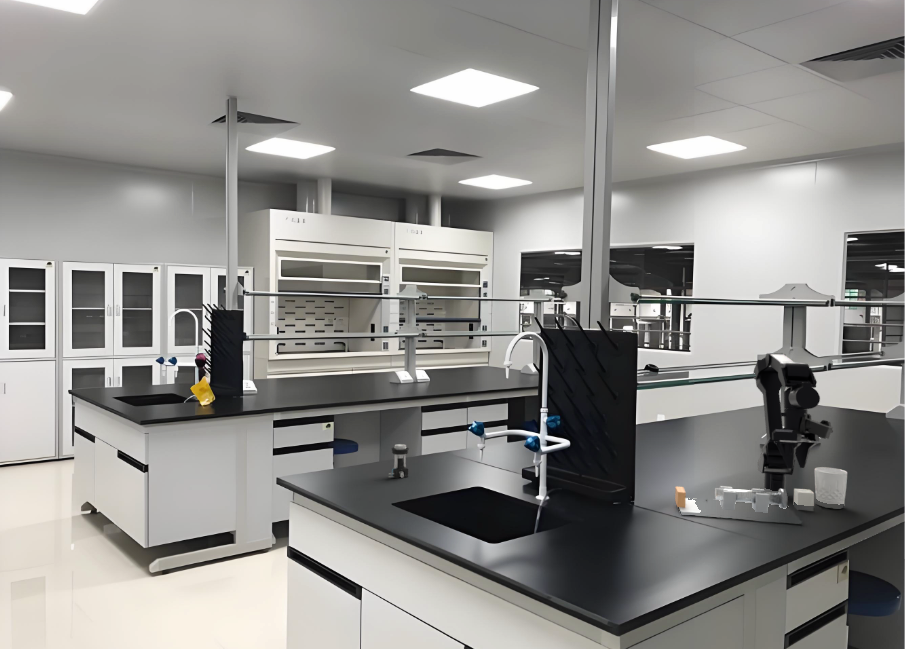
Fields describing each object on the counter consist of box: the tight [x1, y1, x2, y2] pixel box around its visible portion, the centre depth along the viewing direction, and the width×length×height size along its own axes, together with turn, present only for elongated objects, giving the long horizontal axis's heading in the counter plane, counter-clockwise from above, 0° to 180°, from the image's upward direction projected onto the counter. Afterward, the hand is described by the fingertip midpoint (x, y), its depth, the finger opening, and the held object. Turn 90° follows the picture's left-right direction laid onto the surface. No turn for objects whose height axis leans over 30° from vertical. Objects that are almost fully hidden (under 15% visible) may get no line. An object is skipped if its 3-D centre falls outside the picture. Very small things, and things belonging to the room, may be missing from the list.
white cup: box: [814, 466, 848, 505], centre depth 185 cm, size 8×8×10 cm
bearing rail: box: [674, 485, 770, 513], centre depth 178 cm, size 14×30×6 cm, turn 77°
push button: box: [388, 443, 410, 479], centre depth 208 cm, size 7×5×10 cm
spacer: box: [793, 488, 815, 507], centre depth 182 cm, size 4×4×5 cm
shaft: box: [714, 487, 789, 509], centre depth 177 cm, size 5×17×5 cm, turn 77°
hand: (796, 468), depth 178 cm, fingers open, 9 cm apart
